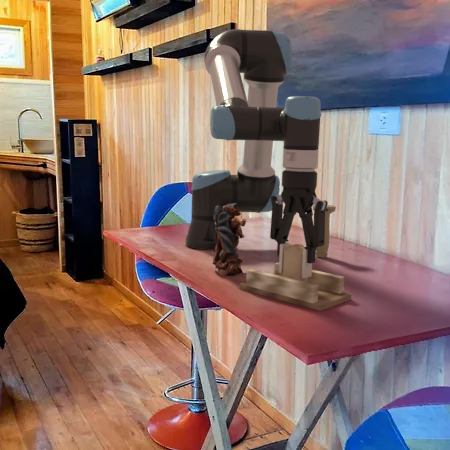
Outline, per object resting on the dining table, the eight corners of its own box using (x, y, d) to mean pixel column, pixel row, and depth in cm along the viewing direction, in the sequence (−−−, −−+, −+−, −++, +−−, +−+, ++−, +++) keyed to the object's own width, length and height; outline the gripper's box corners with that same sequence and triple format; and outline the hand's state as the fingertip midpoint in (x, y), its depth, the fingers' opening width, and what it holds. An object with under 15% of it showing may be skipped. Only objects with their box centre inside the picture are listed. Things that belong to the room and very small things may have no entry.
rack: (239, 288, 129) (240, 268, 129) (271, 279, 138) (272, 260, 137) (320, 311, 115) (321, 288, 114) (351, 299, 123) (352, 278, 123)
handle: (334, 258, 163) (337, 207, 160) (313, 258, 162) (316, 207, 159) (329, 255, 167) (332, 204, 165) (308, 255, 166) (310, 204, 164)
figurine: (258, 269, 147) (256, 200, 144) (246, 278, 138) (244, 205, 136) (220, 267, 151) (217, 200, 148) (206, 275, 143) (203, 204, 140)
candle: (301, 293, 122) (303, 248, 121) (278, 289, 125) (280, 245, 123) (310, 288, 127) (313, 244, 125) (288, 284, 130) (290, 241, 128)
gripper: (255, 167, 125) (252, 269, 129) (327, 173, 113) (320, 285, 116) (276, 166, 131) (272, 264, 134) (346, 172, 118) (340, 279, 122)
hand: (294, 274), depth 125 cm, fingers closed on candle, 5 cm apart
